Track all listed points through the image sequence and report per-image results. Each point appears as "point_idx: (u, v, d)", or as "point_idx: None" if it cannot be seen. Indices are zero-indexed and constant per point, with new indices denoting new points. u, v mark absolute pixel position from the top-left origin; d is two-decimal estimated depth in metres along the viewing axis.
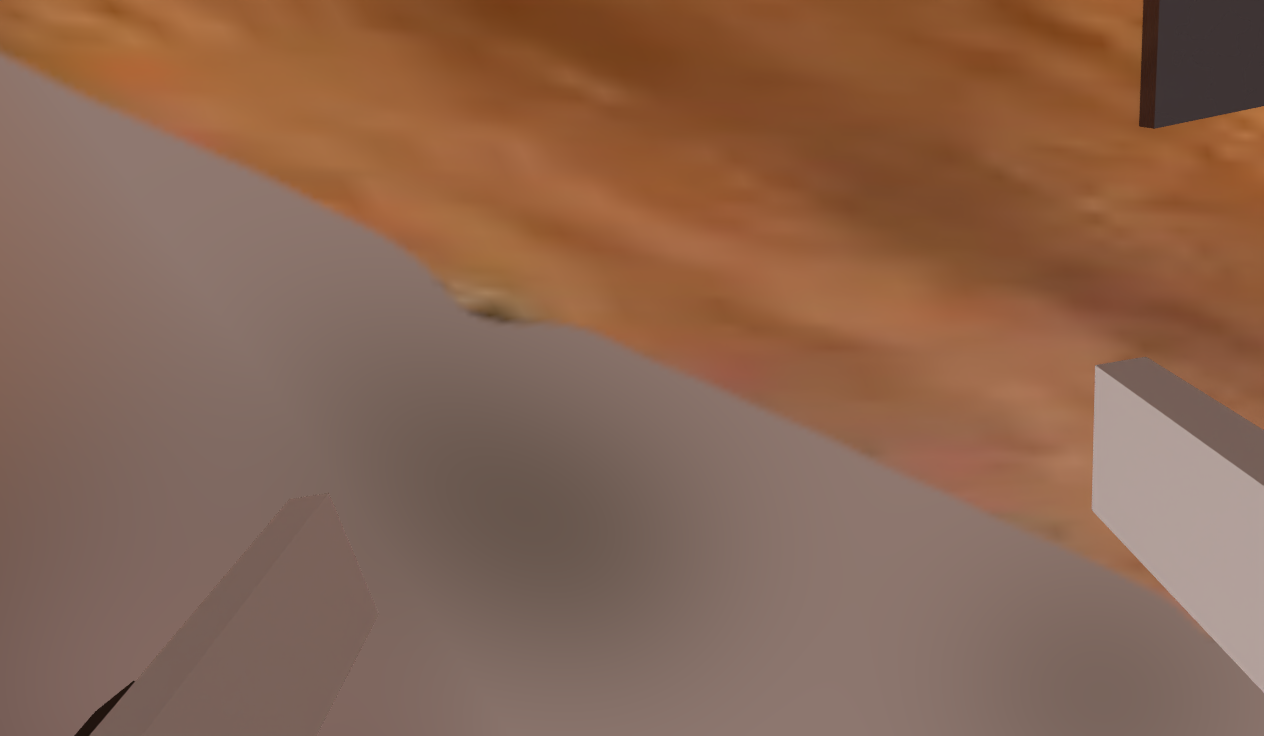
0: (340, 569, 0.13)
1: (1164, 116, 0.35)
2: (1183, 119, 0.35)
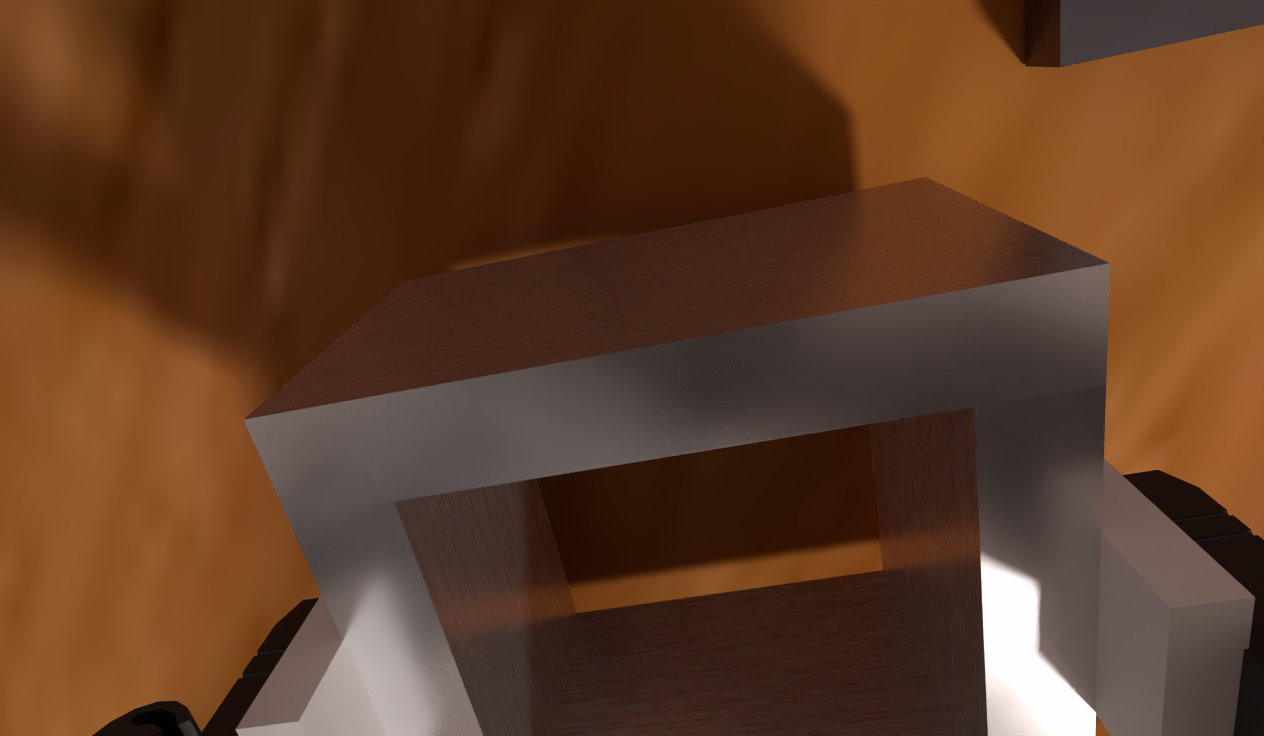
0: None
1: None
2: None
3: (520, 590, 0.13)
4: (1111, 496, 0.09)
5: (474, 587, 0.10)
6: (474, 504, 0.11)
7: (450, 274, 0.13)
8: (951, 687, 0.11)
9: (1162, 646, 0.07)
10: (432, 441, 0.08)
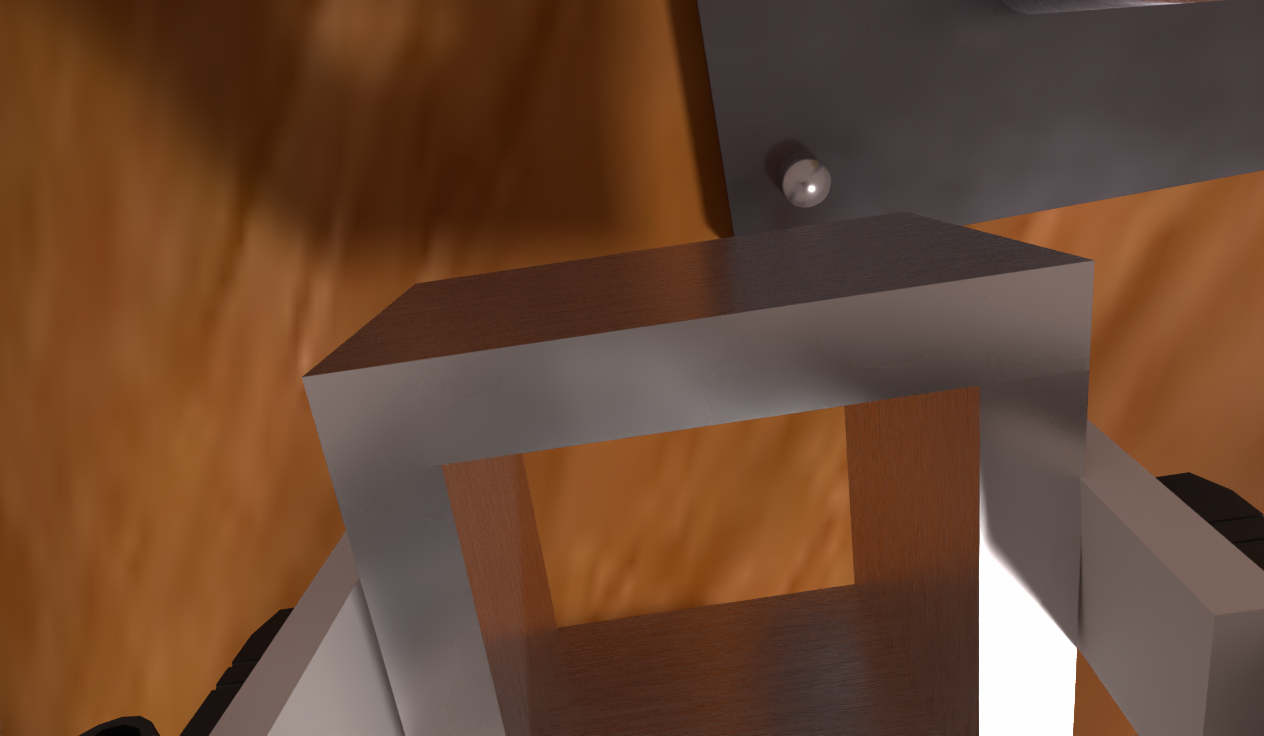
0: None
1: None
2: None
3: (521, 588, 0.13)
4: (1146, 499, 0.09)
5: (492, 570, 0.11)
6: (491, 491, 0.11)
7: (463, 278, 0.13)
8: (936, 675, 0.12)
9: (1205, 654, 0.07)
10: (486, 404, 0.09)
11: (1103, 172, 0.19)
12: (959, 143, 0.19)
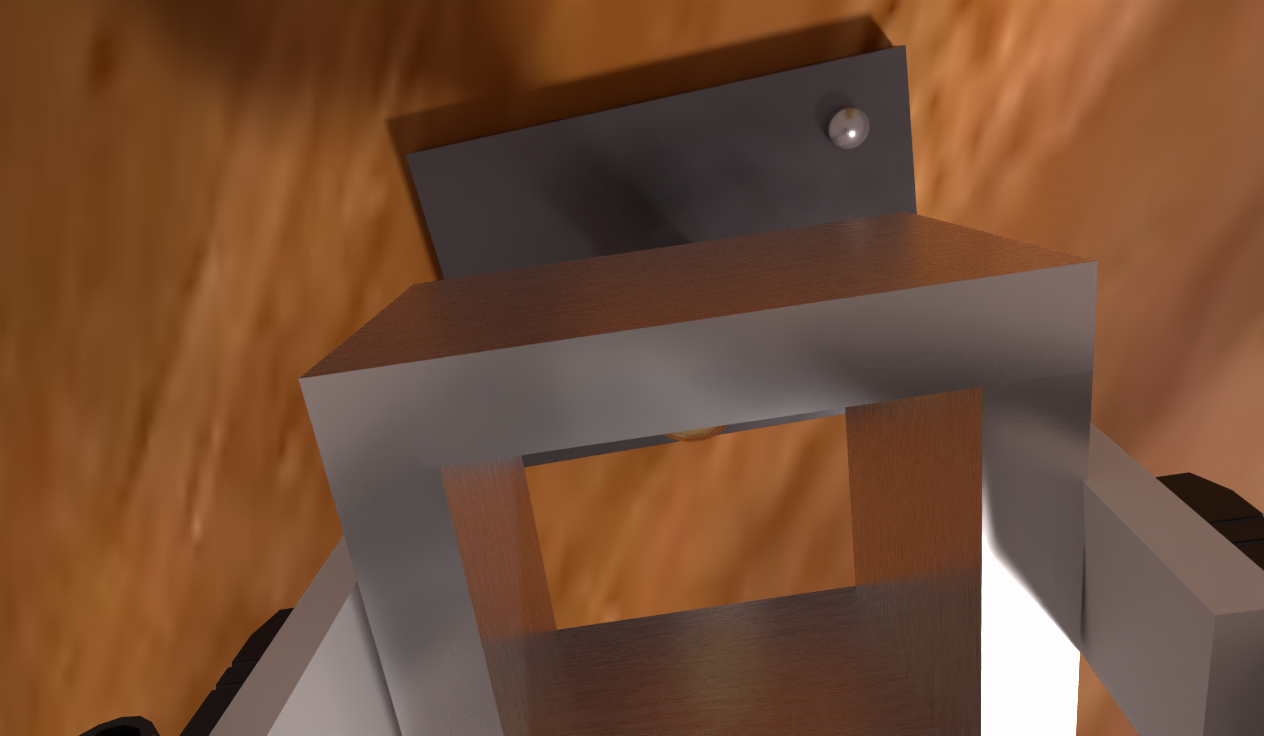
0: None
1: None
2: None
3: (520, 590, 0.13)
4: (1146, 500, 0.09)
5: (491, 572, 0.11)
6: (489, 493, 0.11)
7: (462, 279, 0.13)
8: (937, 678, 0.12)
9: (1205, 654, 0.07)
10: (485, 406, 0.09)
11: None
12: None
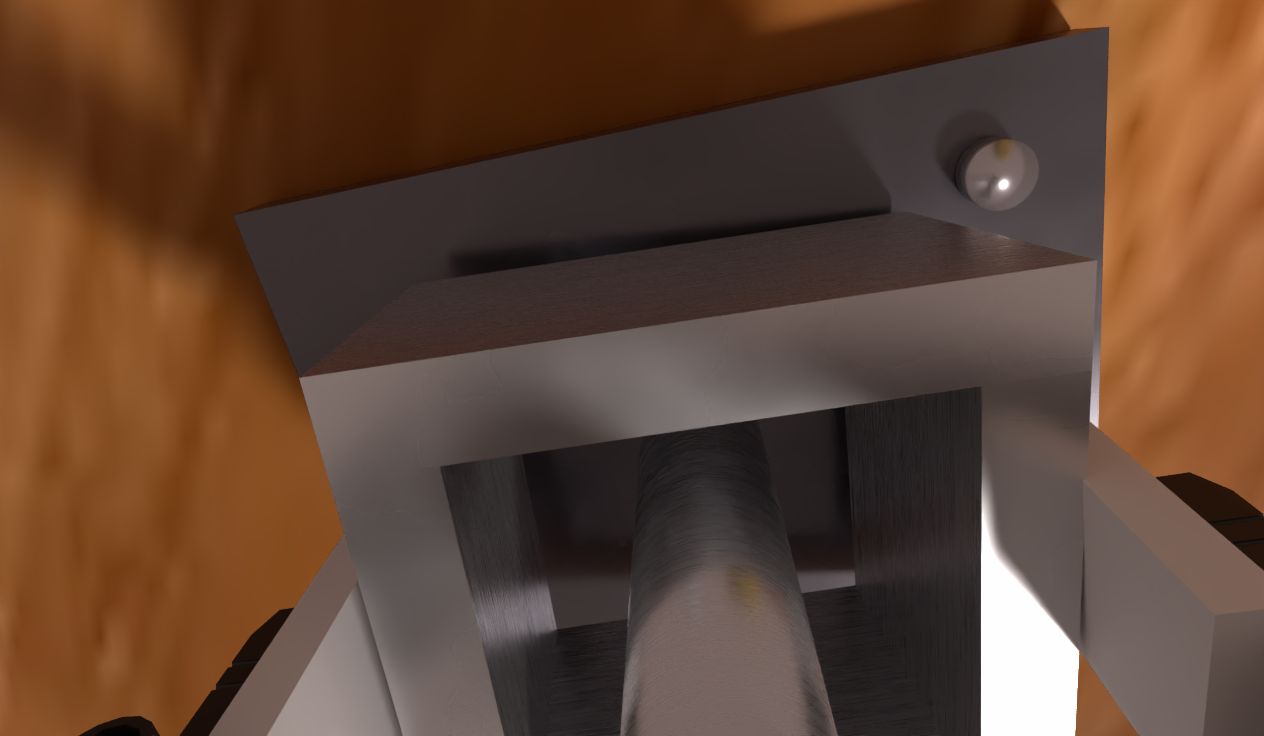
0: None
1: None
2: None
3: (521, 589, 0.13)
4: (1146, 499, 0.09)
5: (491, 571, 0.11)
6: (489, 492, 0.11)
7: (462, 278, 0.13)
8: (937, 677, 0.12)
9: (1205, 653, 0.07)
10: (485, 405, 0.09)
11: None
12: None
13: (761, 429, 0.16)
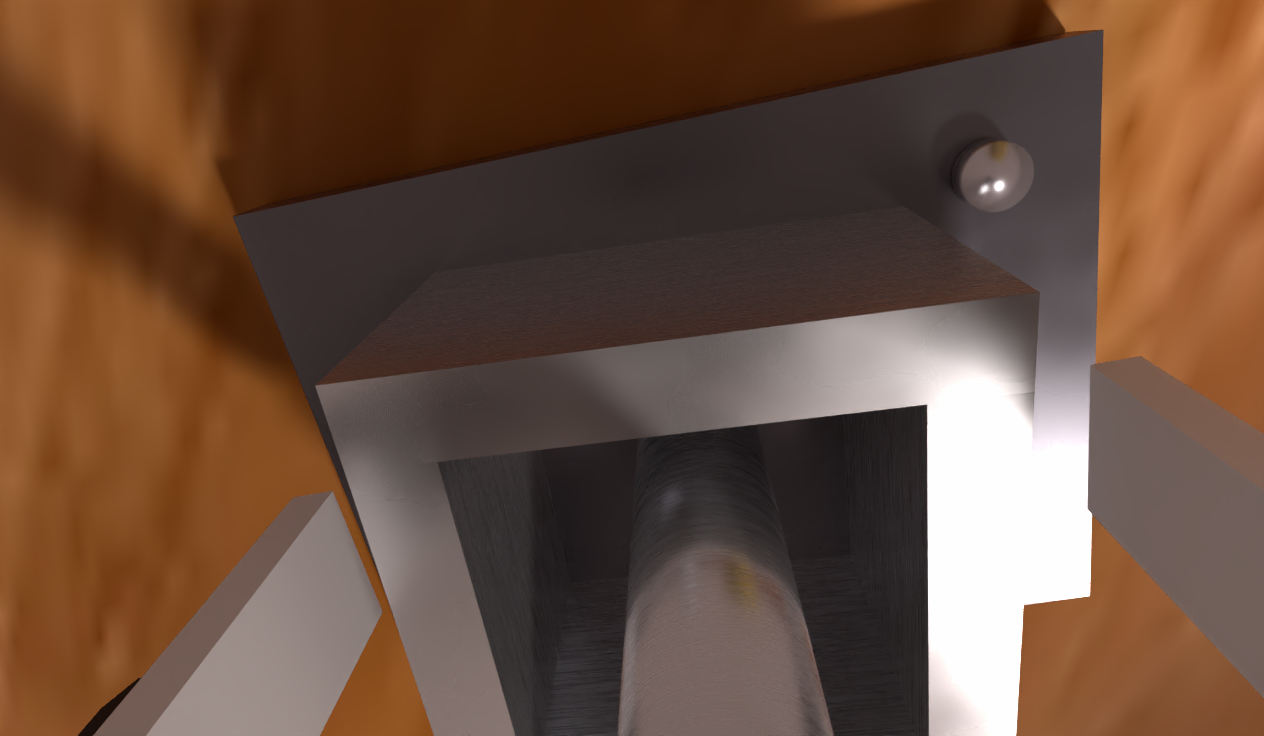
0: (344, 567, 0.13)
1: (1068, 583, 0.17)
2: (1084, 550, 0.17)
3: (527, 554, 0.14)
4: None
5: (493, 544, 0.12)
6: (495, 472, 0.13)
7: (477, 269, 0.14)
8: (902, 651, 0.13)
9: None
10: (474, 412, 0.10)
11: None
12: None
13: (758, 429, 0.16)
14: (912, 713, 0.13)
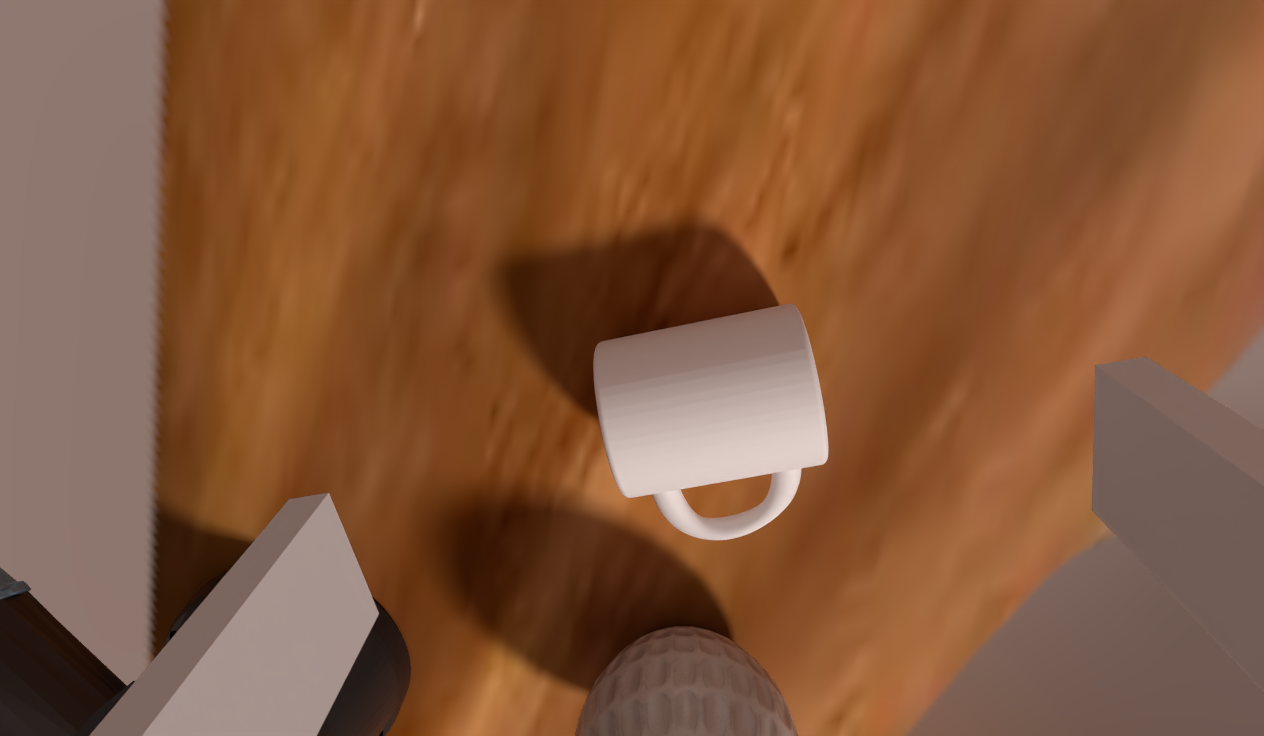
0: (340, 569, 0.13)
1: None
2: None
3: None
4: None
5: None
6: None
7: None
8: None
9: None
10: None
11: None
12: None
13: None
14: None
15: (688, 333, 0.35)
